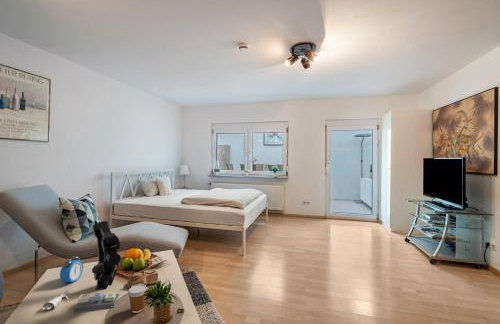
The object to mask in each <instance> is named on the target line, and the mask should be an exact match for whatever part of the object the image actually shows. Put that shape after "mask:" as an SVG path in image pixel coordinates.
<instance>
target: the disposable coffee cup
mask: <svg viewBox="0 0 500 324" xmlns="http://www.w3.org/2000/svg"><path fill="white" fill-rule="evenodd" d="M146 289H147V290H148V287H146V285H144V284H137V285H134V286H132V287H131V288H128V291H127V294H128V296H129V305H130V311H131V310H132V311H139V310H141V309H143V308H144V309H145V304H146V300H145V301H144V298H145V296H144V291H145V290H146ZM145 299H146V298H145Z"/></svg>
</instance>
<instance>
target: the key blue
mask: <svg viewBox="0 0 500 324" xmlns="http://www.w3.org/2000/svg"><path fill="white" fill-rule="evenodd" d="M103 295H104V291H100V292H98V291H97V292H94V293H93V294H92V295H91V297H92V301H98V300H101V299H102V297H103Z"/></svg>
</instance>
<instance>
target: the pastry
mask: <svg viewBox="0 0 500 324" xmlns="http://www.w3.org/2000/svg"><path fill="white" fill-rule="evenodd" d="M144 273H145V272H134V273H133V274H132V275H131V276H130V278H128V281H127V282H126V287H127V289H130V288H129V287H132V286H134V285H137V284H143V279H144Z"/></svg>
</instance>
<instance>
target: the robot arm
mask: <svg viewBox="0 0 500 324" xmlns="http://www.w3.org/2000/svg"><path fill="white" fill-rule="evenodd" d="M91 231H92V233H93V236H94V237H95V238H96V248H97V261H98V262H97V264H95V265H94V266H93V267H92V269H91V273H92V274H93V279H94V282H95V281H96V286H95V289H94V290H95V291H97V290H105V289H108V287H109V286H110V287H111V286H112V285H113V282H114V279H115V278H116V275H117V272H118V269H117V268H119V267H120V266H121V261H122V260H121V258H122V257H121V255H120V254H119V252H118V250H120V247H121V243H120V239H119V236H117V235H116V233H113V232H112V231H111V229H110V225H109V222H108V220H103V221H99V222H97V223H95V224H92V226H91Z"/></svg>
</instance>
